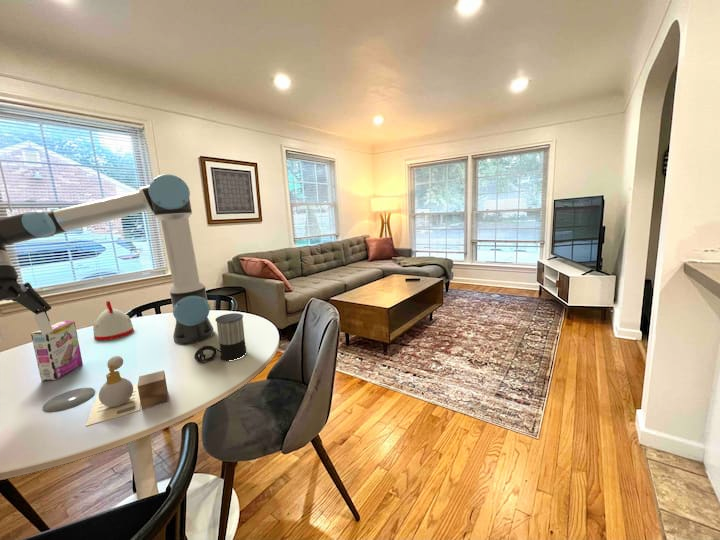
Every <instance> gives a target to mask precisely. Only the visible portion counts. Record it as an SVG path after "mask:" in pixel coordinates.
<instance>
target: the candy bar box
mask: <svg viewBox="0 0 720 540" xmlns="http://www.w3.org/2000/svg"><path fill="white" fill-rule="evenodd" d="M50 325H51V327H52V329H53V332H51V333H48V334H46V335H42V333H41V331H40V329H39V330H36V331H34V332H31V333H30V336H31V340H32V345H33V349H34V354H35V358H36V362H37V368H38V373H39V376H40V381H41V382H47V381H50V382H51V381H57V380H59V379H60V378H62V377H64V376H65V375H67V374H69V373H70V372H72V371H74V370H76V369H77V368H79V367H81V366H82V365H83V358H82V354H81V348H80V343H79V337H78V333H77V326H76V321H74V320H73V321H72V320H70V321H68V320H67V321H59V322H56V323H53V324H50Z"/></svg>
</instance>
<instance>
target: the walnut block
mask: <svg viewBox="0 0 720 540" xmlns="http://www.w3.org/2000/svg"><path fill="white" fill-rule="evenodd" d="M137 380H138V381H137V385H138V392H139V397H140V402H141V404H140V409H141V410H142V411H144V410H146V409H150V408H153V407H156V406H160V405H162V404H163V405H164V404H166V403H169V392H168V384H167V379H166V372H165V370H159V371H155V372H151V373H148V374H144V375H140V376H138V379H137Z"/></svg>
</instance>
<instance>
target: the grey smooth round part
mask: <svg viewBox="0 0 720 540" xmlns="http://www.w3.org/2000/svg"><path fill="white" fill-rule="evenodd" d="M95 393H96V392H95V389H94V388H93V387H80V388H75V389H70V390H68V391H65V392H63V393H60V394H58V395H55V396H53V397H50V399H48V400H47V401H46V402H45V403H43V404H42V411H44V412H46V413H53V412H61V411H65V410H68V409H72V408H74V407H76V406H79V405H82V404H83V403H85V402H86V401H88V400H89V399H91V398H92V397H93V396H94V395H95Z"/></svg>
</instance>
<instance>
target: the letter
mask: <svg viewBox="0 0 720 540" xmlns="http://www.w3.org/2000/svg"><path fill="white" fill-rule="evenodd" d="M140 409H141V402H140V397H139V392H138V384H134V385H133V393H132V396H131V397H130V399H129V400H128V401H127V402H125V403H123V404H122V405H119V406H116V407H108V406H105V405H103V404H102V403H101V402H100V400H99V394H97V396H96V398H95V401H94V404H93V406H92V409H91V411H90V414H89V416H88V418H87V422H86V425H85V427H89V426H92V425H95V424H98V423H102V422H105V421H109V420H111V419H115V418H119V417H122V416H125V415H129V414H132V413H135V412H139V411H140Z"/></svg>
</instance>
